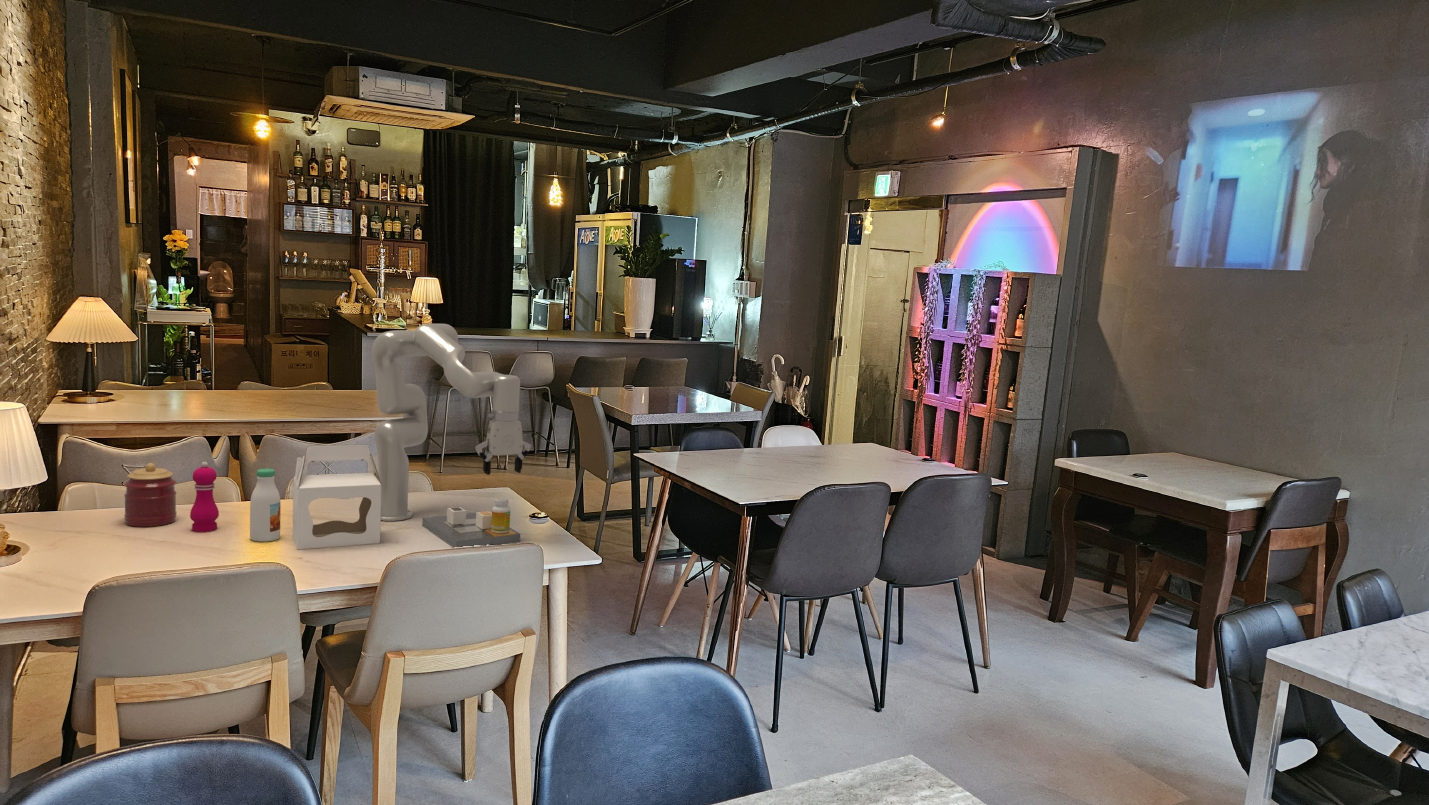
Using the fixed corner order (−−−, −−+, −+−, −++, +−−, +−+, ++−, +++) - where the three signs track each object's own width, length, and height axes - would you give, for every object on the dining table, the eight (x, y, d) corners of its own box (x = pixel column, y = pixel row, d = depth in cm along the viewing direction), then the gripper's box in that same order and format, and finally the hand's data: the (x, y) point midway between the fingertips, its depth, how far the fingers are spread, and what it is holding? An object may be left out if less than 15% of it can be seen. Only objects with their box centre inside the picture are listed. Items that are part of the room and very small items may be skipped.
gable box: (373, 531, 266) (375, 440, 263) (381, 543, 255) (383, 448, 251) (291, 537, 254) (293, 441, 251) (296, 550, 243) (297, 450, 240)
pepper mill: (224, 528, 258) (224, 461, 256) (203, 534, 251) (203, 465, 249) (205, 524, 260) (206, 458, 258) (184, 530, 254) (184, 462, 251)
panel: (455, 549, 254) (455, 540, 253) (422, 525, 276) (422, 516, 275) (520, 541, 266) (520, 532, 266) (483, 519, 288) (483, 511, 287)
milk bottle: (259, 544, 246) (260, 473, 244) (244, 538, 250) (244, 469, 248) (285, 538, 253) (286, 470, 250) (270, 533, 257) (270, 466, 254)
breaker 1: (452, 524, 269) (453, 511, 268) (446, 520, 272) (447, 507, 272) (465, 523, 271) (466, 510, 270) (459, 519, 275) (459, 506, 274)
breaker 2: (482, 529, 266) (482, 515, 265) (475, 525, 270) (476, 511, 269) (494, 527, 268) (495, 514, 268) (488, 523, 272) (488, 510, 272)
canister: (182, 523, 260) (182, 465, 258) (131, 530, 250) (130, 469, 248) (168, 514, 269) (168, 457, 267) (118, 520, 259) (118, 461, 257)
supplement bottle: (508, 534, 263) (509, 502, 262) (489, 533, 263) (490, 501, 261) (510, 529, 268) (512, 498, 267) (492, 528, 268) (494, 497, 267)
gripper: (482, 419, 254) (479, 477, 256) (537, 417, 264) (534, 473, 266) (472, 415, 260) (469, 472, 262) (526, 414, 270) (523, 468, 272)
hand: (502, 472), depth 264 cm, fingers open, 9 cm apart
